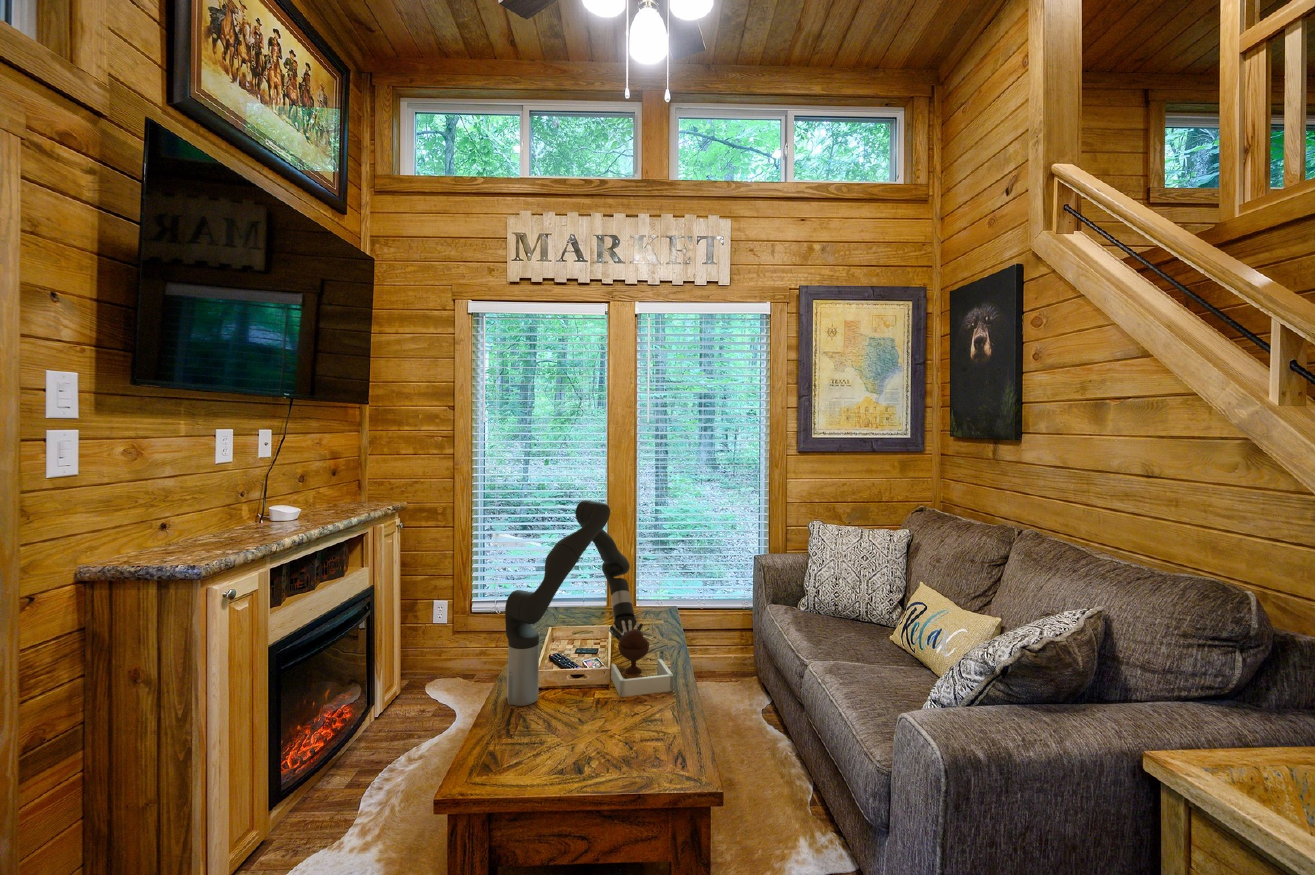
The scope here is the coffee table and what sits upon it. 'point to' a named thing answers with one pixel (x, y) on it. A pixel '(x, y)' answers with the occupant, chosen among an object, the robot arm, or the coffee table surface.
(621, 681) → the corral
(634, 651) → the ice cream bowl
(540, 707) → the coffee table surface
